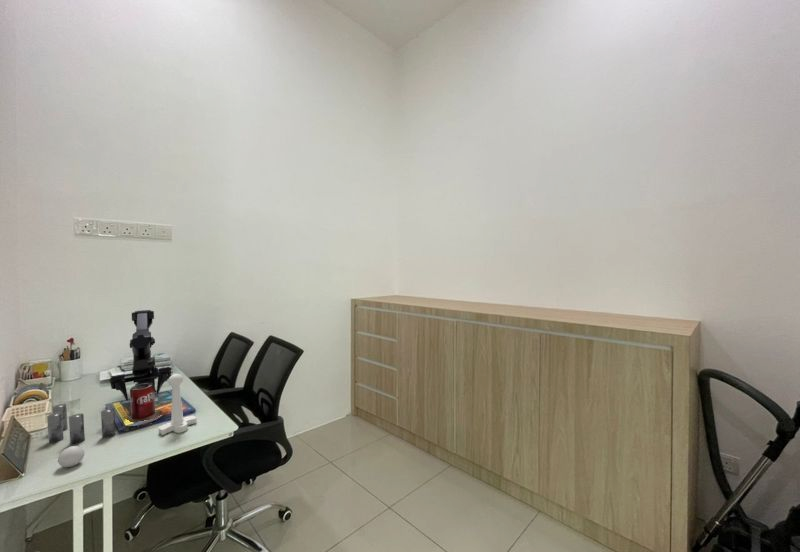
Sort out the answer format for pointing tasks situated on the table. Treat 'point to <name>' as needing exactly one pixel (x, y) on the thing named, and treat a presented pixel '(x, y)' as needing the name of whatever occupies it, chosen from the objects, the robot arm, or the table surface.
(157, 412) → the walnut pad
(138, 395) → the soda can
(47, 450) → the table surface
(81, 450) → the white egg
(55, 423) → the posts
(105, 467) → the table surface
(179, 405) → the joystick
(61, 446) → the table surface
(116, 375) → the robot arm
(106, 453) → the table surface
